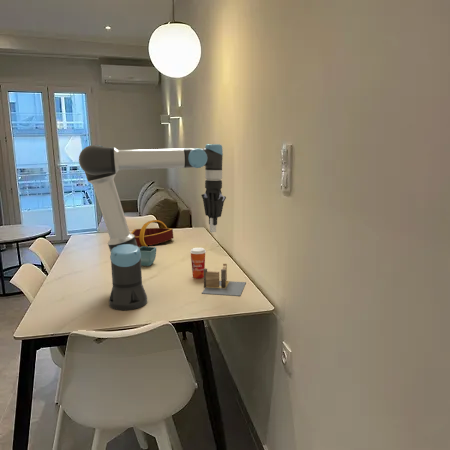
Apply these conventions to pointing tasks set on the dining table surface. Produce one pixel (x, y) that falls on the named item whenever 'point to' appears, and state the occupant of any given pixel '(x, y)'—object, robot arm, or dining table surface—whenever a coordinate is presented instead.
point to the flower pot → (147, 255)
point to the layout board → (226, 289)
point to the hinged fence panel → (225, 269)
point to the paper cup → (198, 262)
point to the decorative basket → (152, 234)
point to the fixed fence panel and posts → (214, 278)
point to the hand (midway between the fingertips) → (212, 231)
